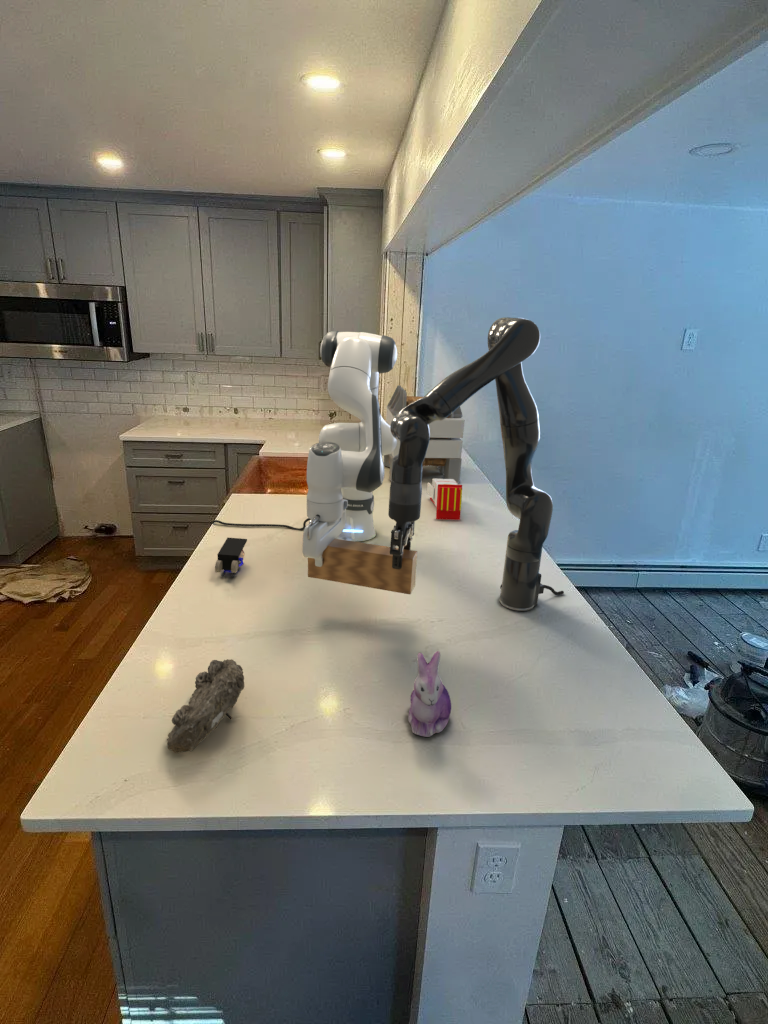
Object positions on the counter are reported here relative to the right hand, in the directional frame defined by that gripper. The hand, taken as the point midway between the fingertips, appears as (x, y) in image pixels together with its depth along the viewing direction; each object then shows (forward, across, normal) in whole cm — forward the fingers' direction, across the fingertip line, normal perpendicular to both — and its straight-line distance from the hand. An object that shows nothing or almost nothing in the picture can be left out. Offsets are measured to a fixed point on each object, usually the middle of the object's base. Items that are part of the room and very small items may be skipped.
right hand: (401, 561), depth 138 cm
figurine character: (+17, +12, +54) cm, 57 cm away
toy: (+16, +91, +5) cm, 93 cm away
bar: (+7, 0, +10) cm, 12 cm away
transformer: (+16, +138, +25) cm, 141 cm away
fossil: (+17, -46, +24) cm, 55 cm away
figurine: (+17, -34, -15) cm, 41 cm away
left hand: (+3, 0, +20) cm, 20 cm away
